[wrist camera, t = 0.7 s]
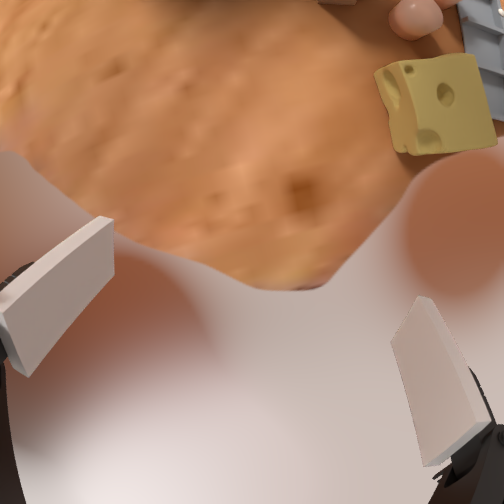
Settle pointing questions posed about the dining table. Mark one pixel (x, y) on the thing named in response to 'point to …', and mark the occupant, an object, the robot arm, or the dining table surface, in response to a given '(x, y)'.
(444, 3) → the pale pink egg
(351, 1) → the walnut post
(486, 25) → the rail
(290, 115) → the dining table surface
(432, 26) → the brown egg
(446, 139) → the cheese
